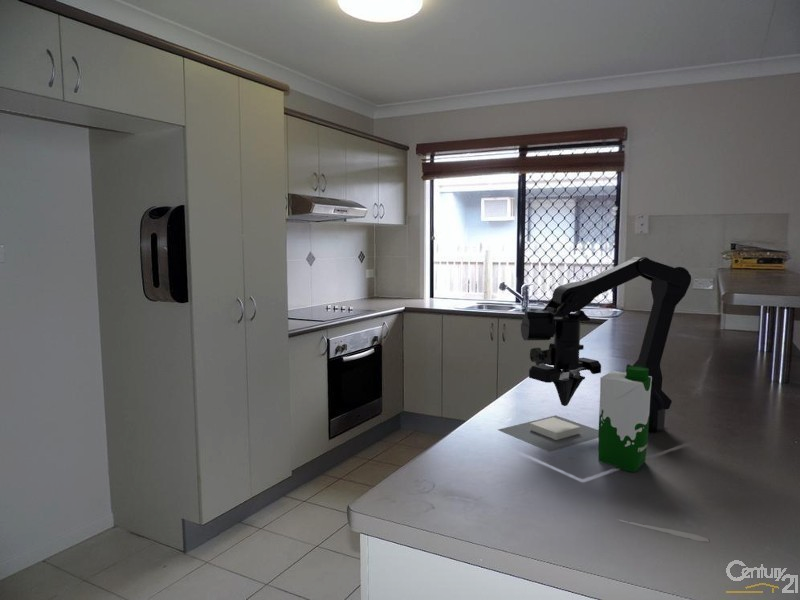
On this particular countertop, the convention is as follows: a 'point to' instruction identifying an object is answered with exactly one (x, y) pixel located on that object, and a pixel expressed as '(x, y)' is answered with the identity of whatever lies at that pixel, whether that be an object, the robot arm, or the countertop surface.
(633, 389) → the milk carton
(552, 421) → the tile
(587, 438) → the mat
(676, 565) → the countertop surface
